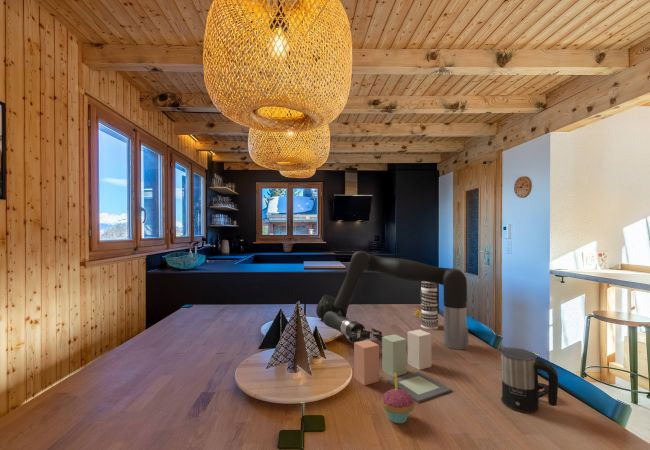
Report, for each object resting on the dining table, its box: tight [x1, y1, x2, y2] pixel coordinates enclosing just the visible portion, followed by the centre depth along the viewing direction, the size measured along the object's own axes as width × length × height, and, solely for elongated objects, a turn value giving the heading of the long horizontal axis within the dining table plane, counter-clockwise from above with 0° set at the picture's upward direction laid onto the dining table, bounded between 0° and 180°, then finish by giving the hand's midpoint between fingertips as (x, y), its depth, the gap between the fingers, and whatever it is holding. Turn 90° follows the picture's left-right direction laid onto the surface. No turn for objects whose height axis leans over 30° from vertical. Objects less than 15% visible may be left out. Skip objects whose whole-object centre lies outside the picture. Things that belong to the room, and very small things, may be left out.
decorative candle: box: [419, 282, 439, 330], centre depth 163 cm, size 9×9×25 cm
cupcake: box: [381, 370, 415, 424], centre depth 83 cm, size 9×8×12 cm
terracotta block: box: [353, 339, 380, 386], centre depth 105 cm, size 6×6×12 cm
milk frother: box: [499, 347, 559, 414], centre depth 92 cm, size 14×16×15 cm
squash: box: [316, 294, 339, 320], centre depth 177 cm, size 14×15×15 cm
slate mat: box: [387, 371, 453, 404], centre depth 100 cm, size 14×14×1 cm
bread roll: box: [413, 309, 422, 319], centre depth 181 cm, size 8×9×4 cm
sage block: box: [381, 334, 408, 378], centre depth 111 cm, size 6×6×12 cm
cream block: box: [407, 328, 432, 371], centre depth 116 cm, size 6×6×12 cm
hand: (374, 341), depth 121 cm, fingers open, 8 cm apart
